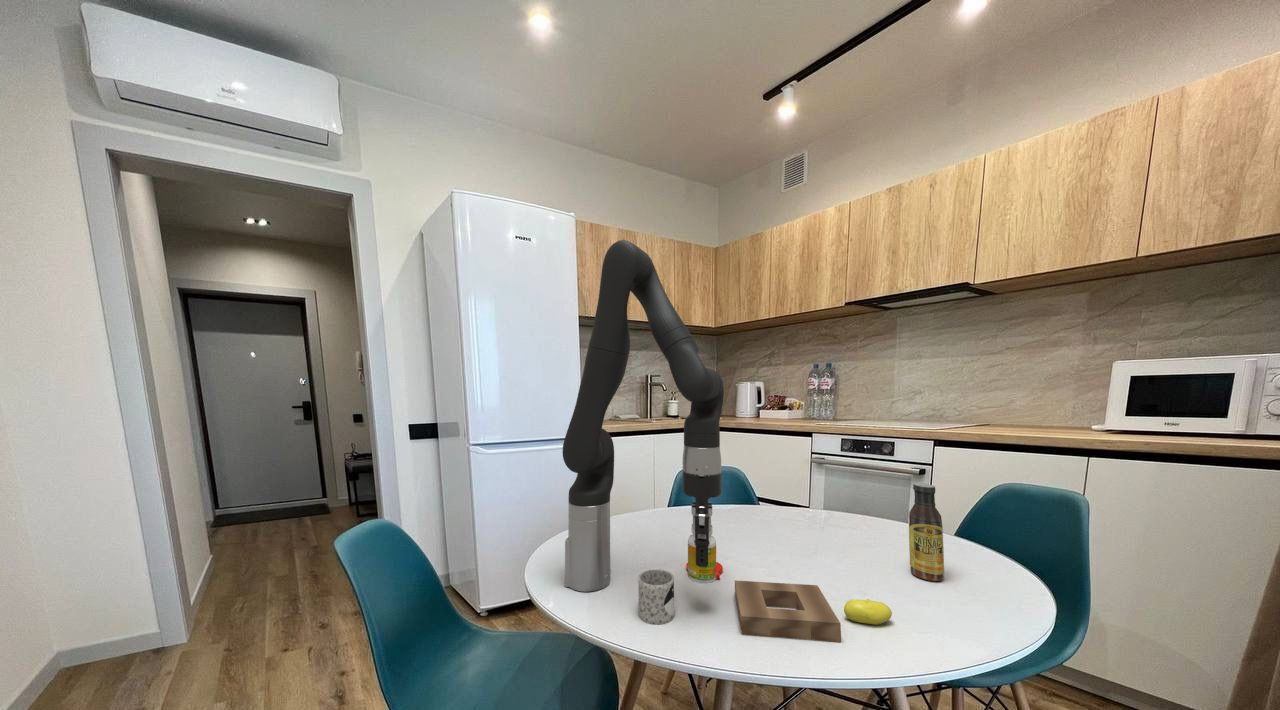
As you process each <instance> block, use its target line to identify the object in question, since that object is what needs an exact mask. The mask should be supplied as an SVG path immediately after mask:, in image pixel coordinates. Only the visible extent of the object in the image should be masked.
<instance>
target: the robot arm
mask: <svg viewBox="0 0 1280 710" xmlns="http://www.w3.org/2000/svg"><path fill="white" fill-rule="evenodd" d="M602 261H603V262H602V267H601V275H600V282H599V291H598V300H597V307H596V310H595V311H596V312H595V314H594V321H593V325H592V331H591V336H590V340H589V343H588V347H587V352H586V355H585V360H584V366H583V372H582V377H581V380H580V384H579V389H578V394H577V398H576V403H575V405H574V408H573V412H572V416H571V419H570V422H569V424H568V429H566V430H567V431H566V433H565V437H564V439H563V444H562V458H563V459H562V460H563V462H564V464H565V466H566V467H567V469H569V471H571V472H573V473H575V474H576V478H575V480H574V482H573V484H572V485H571V486H570V487H569V491H568V509H567V510H568V512H567V513H568V515H567V516H568V517H567V518H568V526H567V527H568V529H567V530H568V531H567V532H568V534H567V535H568V537H567V538H566V539H565V541H564V587H565V588H567V587H568V588H571V589H572V590H574V591H577V592H583V593H585V592H595V591H598V590H602V589H604V588H605V587H607V586H609V584H610V583H611V571H612V570H611V493H612V489H613V486H614V479H615V478H614V477H615V476H614V475H615V446H614V441H613V438H612V436H611V434H610V433H609V432H608V431H607V430H606V429H604V428H603V425H604V420H605V416H606V413H607V411H608V410H607V409H608V408H609V406H610V403H611V402H612V400H613V398H614V397H615V395H616V394H617V391H618V390H619V388H620V385H621V383H622V381H623V379H624V377H625V374H626V369H627V365H628V360H629V357H630V356H629V355H630V350H631V336H630V328H629V327H630V326H629V321H628V305H629V304H628V303H629V299H630V294H631V293H632V295H634V297H635V298H636V299H637V301H638V302H639V303H640V305H641V307H642V308H643V310H644V312H645V316H646V319H647V322H648V326H649V329H650V332H651V335H652V336H653V339H654V341H655V343H656V345H657V346H658V348H659V349H660V351H661V353H662V354H663V356H664V358H665V359H666V361H667V363H668V367H669V370H670V372H671V375H672V378H673V381H674V384H675V386H676V388H677V390H678V392H679V393H680V394H681V395H682V396H683V397H684V399H685V400H687V401H688V402H690V410H689V411H690V412H689V414H688V416H687V417H686V418H685V420H684V424H683V452H682V492H683V494H684V495H686V496H688V497H693V498H694V499H695V501H691V507H690V508H691V511H690V512H691V515H692V524H693V531H695V540H694V543H695V545H696V565H697V566H701V567H707V566H708V546H709V544H710V541H709V532H710V531H711V525H712V516H713V504H712V502H709V499H711V498H718V497H720V496H721V495H722V454H721V453H722V452H721V446H720V445H721V444H720V443H721V439H720V438H721V437H720V436H721V434H720V421H721V416H722V411H723V404H724V393H725V387H724V382H723V379H722V376H721V375H720V373H719V372H718V371H716V370H715V369H713V368H708V367H706V366H705V365H704V363H703V362H702V359H701V357H700V356H699V354H698V353H699V347H698V344H697V342H696V340H695V339H694V337H693V335H692V334H691V332H690V331H689V329H688V328H687V326H686V324H685V323H684V321H683V320H682V318H681V317H680V315H679V313H678V312H677V311H676V309H675V307H674V305H673V304H672V302H671V300H670V299H669V297H668V294H667V293H666V291H665V288H664V286H663V284H662V281H661V280H660V278H659V277H660V276H659V275H658V271H657V269H656V267H655V265H654V262H653V261H652V258H651V256H650V255H649V254H648V253H647V252H646V251H644V250H643V249H641V248H640V247H639V246H637V245H636V244H634V243H632V242H631V241H629V240H626V239H622V240H621V239H620V240H617V241H615V242H614V243H613V244H611V245H610V247H609V248H608V249H607V251H606V253H605V255H604V258H603V260H602ZM698 534H705V535H706V539H704V538H698Z"/></svg>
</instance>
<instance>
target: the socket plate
mask: <svg viewBox="0 0 1280 710" xmlns="http://www.w3.org/2000/svg"><path fill="white" fill-rule="evenodd" d="M734 598H735V604H736V610H737V615H738V622H739V627H740V633H741V636H752V637H753V636H756V637H766V638H767V637H768V638H780V639H792V640H793V639H794V640H806V641H815V642H816V641H819V642H820V641H821V642H829V643H830V642H831V643H832V642H833V643H842V631H841V630H842V627H841V622H840V620H839V618H838V617H837V614H835V612H834V610H833V608H832V606H831V605H830V604H829V602H828V601H827V599H826V596H825V595H824V594H823V592H822V591H821V589H820V587H819V585H817V584H805V583H804V584H802V583H801V584H800V583H786V582H785V583H784V582H769V581H751V580H750V581H749V580H734Z"/></svg>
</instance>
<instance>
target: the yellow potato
mask: <svg viewBox="0 0 1280 710" xmlns="http://www.w3.org/2000/svg"><path fill="white" fill-rule="evenodd" d="M843 612H844V615H845V616H846V618H847V619H849V620H850V621H852V622H856V623H861V624H868V625H875V626H879V625H881V624H883V623H885V622H887V621H889V620H891V618H892V615H893V611H892V609H891V608H890V607H889V606H888V605H887V604H886V603H885V602H882V601H876V600H871V599H854V598H853V599H850V600H847V601H846V602H845V604H844V607H843Z"/></svg>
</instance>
